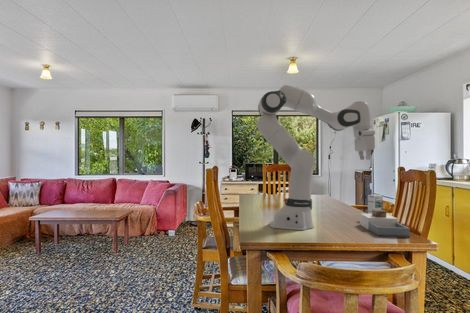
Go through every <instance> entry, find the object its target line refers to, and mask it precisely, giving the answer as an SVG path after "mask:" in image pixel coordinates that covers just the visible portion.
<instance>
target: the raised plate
mask: <svg viewBox="0 0 470 313" xmlns="http://www.w3.org/2000/svg"><path fill="white" fill-rule="evenodd" d="M398 220H399V219H398V218H397V217H395V216H392V215H390V214H388V213H386V217H375V216H373V215H372V214H368V213H361V212H360V213H359V225H360V226H361V227H363V228H364V229H366V230H368V222H371V223H373V224H375V225H377V226H379V227H396V223H399V222H398ZM368 231H369V230H368Z"/></svg>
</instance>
